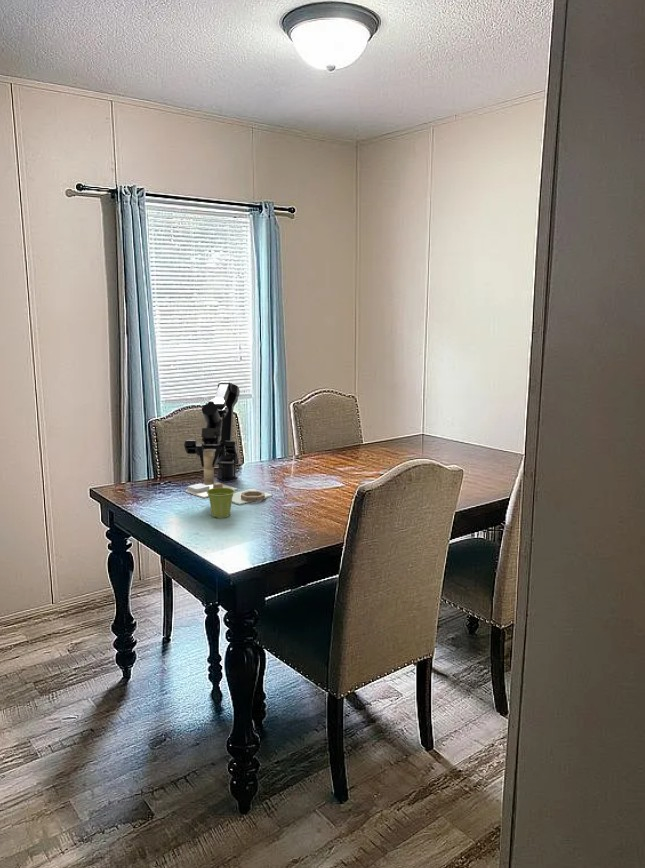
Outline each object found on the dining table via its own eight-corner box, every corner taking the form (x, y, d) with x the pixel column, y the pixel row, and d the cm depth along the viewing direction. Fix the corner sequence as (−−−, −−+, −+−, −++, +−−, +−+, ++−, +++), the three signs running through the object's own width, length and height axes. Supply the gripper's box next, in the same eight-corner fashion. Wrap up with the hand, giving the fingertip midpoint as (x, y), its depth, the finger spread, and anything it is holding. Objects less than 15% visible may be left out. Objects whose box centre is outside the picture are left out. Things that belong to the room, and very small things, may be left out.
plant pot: (231, 510, 237) (230, 486, 235) (237, 518, 228) (237, 493, 226) (204, 513, 233) (204, 488, 232) (210, 521, 225) (209, 496, 223)
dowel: (209, 481, 248) (208, 450, 245) (216, 483, 245) (215, 451, 243) (202, 483, 245) (201, 451, 243) (208, 485, 243) (207, 453, 240)
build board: (252, 490, 262) (252, 484, 262) (276, 497, 252) (276, 492, 252) (219, 498, 251) (219, 492, 250) (243, 506, 241) (243, 500, 241)
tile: (218, 484, 270) (218, 475, 270) (237, 490, 262) (237, 481, 261) (185, 491, 259) (185, 482, 258) (204, 498, 251) (203, 488, 250)
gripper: (184, 418, 245) (177, 454, 236) (235, 419, 244) (230, 455, 235) (190, 435, 254) (183, 470, 245) (239, 436, 253) (234, 471, 245)
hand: (207, 466), depth 242 cm, fingers closed on dowel, 4 cm apart
